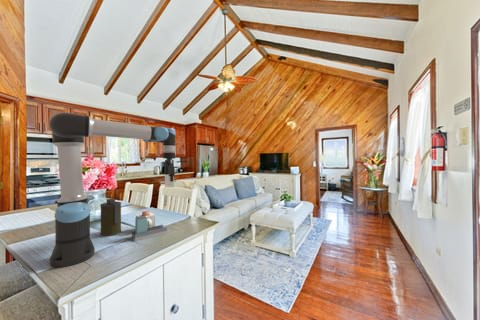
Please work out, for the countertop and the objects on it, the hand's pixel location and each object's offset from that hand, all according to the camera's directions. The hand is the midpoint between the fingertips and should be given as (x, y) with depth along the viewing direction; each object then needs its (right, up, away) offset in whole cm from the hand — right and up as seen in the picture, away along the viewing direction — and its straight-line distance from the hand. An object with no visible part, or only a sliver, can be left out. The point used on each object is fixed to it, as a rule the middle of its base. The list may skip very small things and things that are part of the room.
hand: (169, 185), depth 127 cm
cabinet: (-13, -27, -5) cm, 30 cm away
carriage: (-10, -25, -17) cm, 31 cm away
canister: (-30, -27, -10) cm, 42 cm away
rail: (-6, -27, -14) cm, 31 cm away
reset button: (-13, -20, -5) cm, 24 cm away
